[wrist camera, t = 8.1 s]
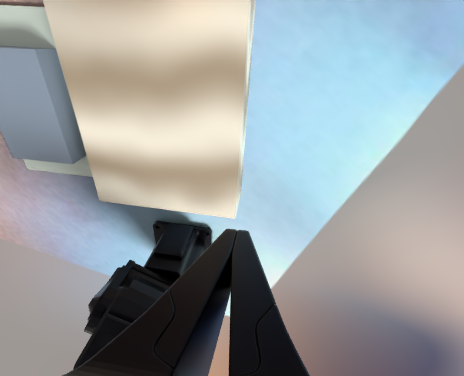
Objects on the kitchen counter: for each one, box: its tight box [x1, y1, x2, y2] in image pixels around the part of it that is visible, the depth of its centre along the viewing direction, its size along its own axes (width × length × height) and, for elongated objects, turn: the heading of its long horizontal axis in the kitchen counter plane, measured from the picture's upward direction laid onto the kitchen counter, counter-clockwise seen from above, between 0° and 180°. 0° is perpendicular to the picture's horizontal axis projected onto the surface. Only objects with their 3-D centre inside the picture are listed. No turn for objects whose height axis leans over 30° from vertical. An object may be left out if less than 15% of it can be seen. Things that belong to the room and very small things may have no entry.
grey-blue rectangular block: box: [0, 46, 87, 164], centre depth 21 cm, size 9×6×2 cm, turn 178°
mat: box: [0, 5, 93, 177], centre depth 22 cm, size 14×10×1 cm
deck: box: [43, 0, 256, 219], centre depth 17 cm, size 20×12×4 cm, turn 178°
